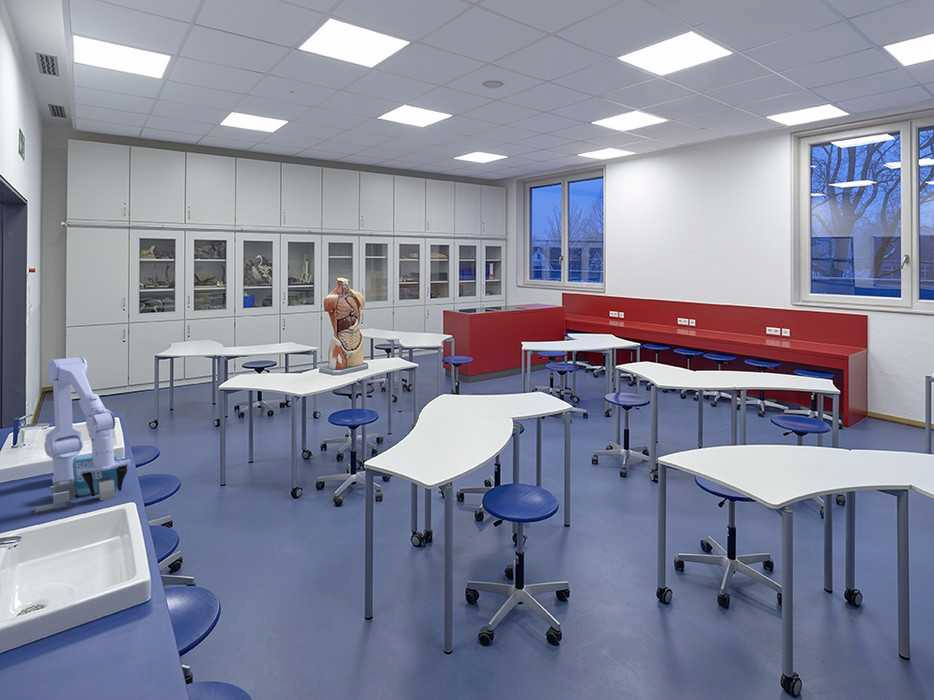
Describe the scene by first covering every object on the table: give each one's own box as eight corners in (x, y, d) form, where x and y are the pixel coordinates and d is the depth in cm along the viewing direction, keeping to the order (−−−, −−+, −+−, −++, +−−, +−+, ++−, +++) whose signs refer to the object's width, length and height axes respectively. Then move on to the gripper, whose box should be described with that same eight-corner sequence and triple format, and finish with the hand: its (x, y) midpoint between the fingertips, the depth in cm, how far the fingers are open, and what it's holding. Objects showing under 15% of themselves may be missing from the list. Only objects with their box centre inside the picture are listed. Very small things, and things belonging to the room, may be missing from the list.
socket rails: (51, 495, 189) (50, 486, 189) (66, 492, 192) (65, 483, 191) (53, 504, 182) (53, 494, 182) (69, 501, 184) (69, 491, 184)
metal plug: (98, 497, 188) (96, 478, 187) (112, 494, 190) (111, 475, 189) (100, 501, 185) (98, 481, 184) (115, 498, 187) (113, 479, 186)
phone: (34, 511, 178) (34, 507, 178) (70, 504, 183) (70, 500, 183) (35, 516, 174) (34, 512, 174) (71, 509, 179) (71, 505, 179)
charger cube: (55, 497, 188) (53, 481, 187) (74, 493, 191) (72, 478, 190) (56, 502, 184) (55, 486, 183) (75, 498, 187) (74, 482, 186)
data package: (75, 496, 188) (71, 460, 187) (75, 492, 192) (72, 456, 190) (118, 489, 194) (116, 454, 193) (118, 485, 198) (115, 450, 197)
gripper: (77, 458, 178) (80, 501, 180) (131, 449, 187) (134, 490, 189) (74, 452, 183) (77, 495, 185) (127, 444, 192) (130, 484, 194)
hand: (106, 492), depth 187 cm, fingers open, 7 cm apart
